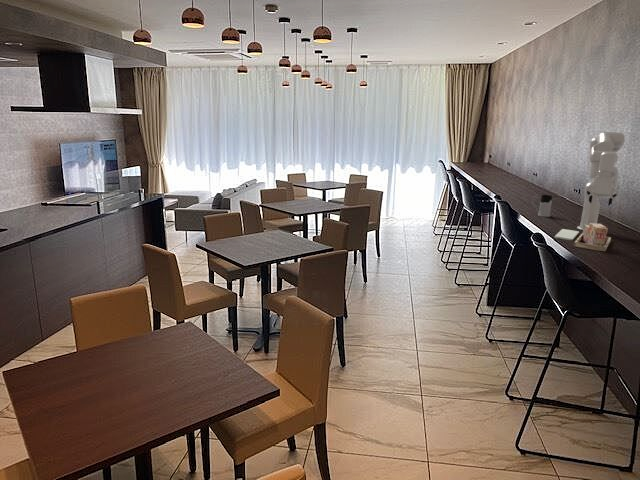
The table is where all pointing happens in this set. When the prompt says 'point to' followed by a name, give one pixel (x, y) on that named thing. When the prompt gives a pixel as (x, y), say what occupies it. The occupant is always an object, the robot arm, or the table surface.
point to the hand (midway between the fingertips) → (599, 203)
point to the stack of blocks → (594, 234)
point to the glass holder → (544, 205)
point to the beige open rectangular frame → (589, 246)
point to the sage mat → (567, 234)
